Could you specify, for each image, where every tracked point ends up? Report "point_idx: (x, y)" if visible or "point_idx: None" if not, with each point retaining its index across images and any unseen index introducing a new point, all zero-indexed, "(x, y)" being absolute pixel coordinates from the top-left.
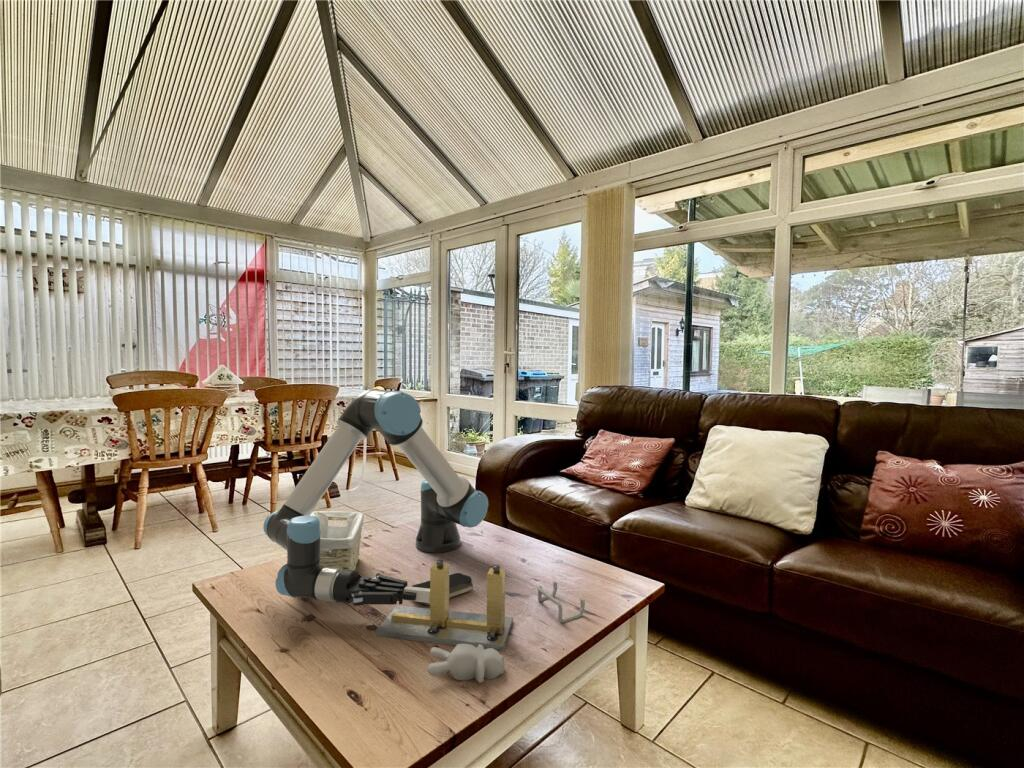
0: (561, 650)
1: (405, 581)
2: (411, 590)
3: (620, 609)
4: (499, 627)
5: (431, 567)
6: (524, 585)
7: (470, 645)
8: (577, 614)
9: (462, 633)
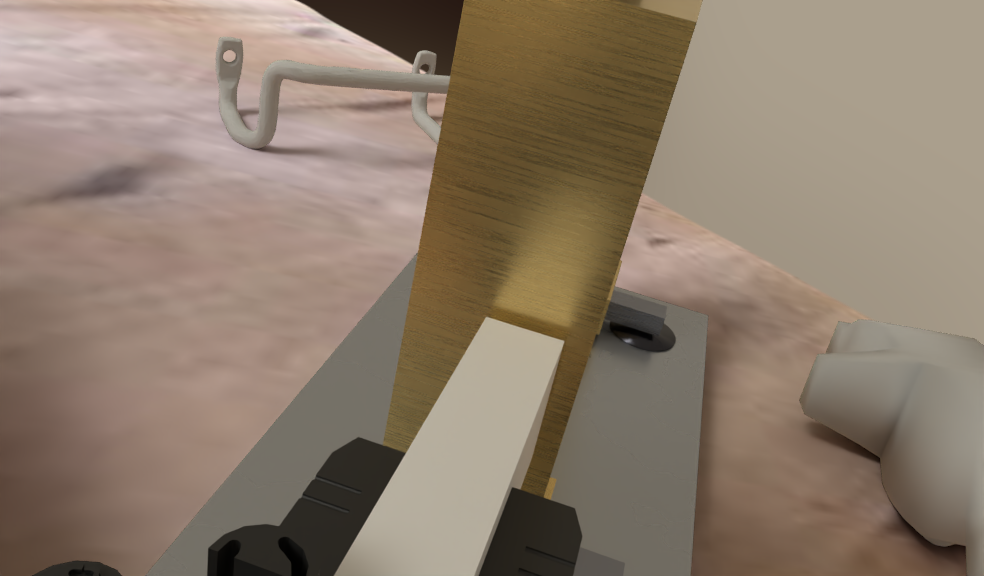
0: (659, 214)
1: (216, 550)
2: (493, 521)
3: (398, 65)
4: (619, 268)
5: (641, 9)
6: (34, 132)
7: (948, 371)
8: (428, 116)
9: (607, 437)
